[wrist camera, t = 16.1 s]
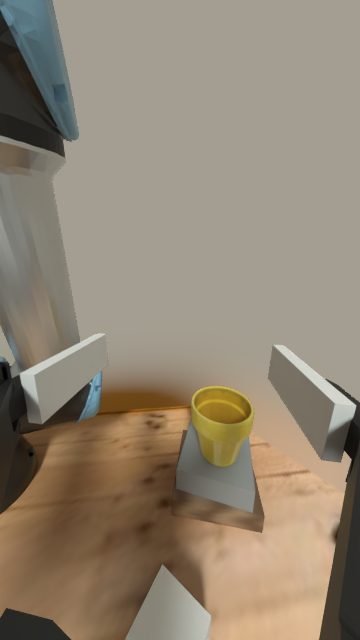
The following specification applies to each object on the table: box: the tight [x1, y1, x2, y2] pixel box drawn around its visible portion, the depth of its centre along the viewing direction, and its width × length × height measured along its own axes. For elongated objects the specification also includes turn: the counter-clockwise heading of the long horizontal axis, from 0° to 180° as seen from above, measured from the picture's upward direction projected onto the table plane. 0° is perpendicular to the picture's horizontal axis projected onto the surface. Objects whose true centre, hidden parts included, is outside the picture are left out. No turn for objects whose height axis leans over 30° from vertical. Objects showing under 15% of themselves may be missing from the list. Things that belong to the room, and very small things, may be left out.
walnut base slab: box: [172, 430, 264, 533], centre depth 35 cm, size 14×14×4 cm
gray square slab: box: [176, 419, 255, 513], centre depth 34 cm, size 12×12×4 cm
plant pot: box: [191, 386, 254, 467], centre depth 32 cm, size 10×10×10 cm
